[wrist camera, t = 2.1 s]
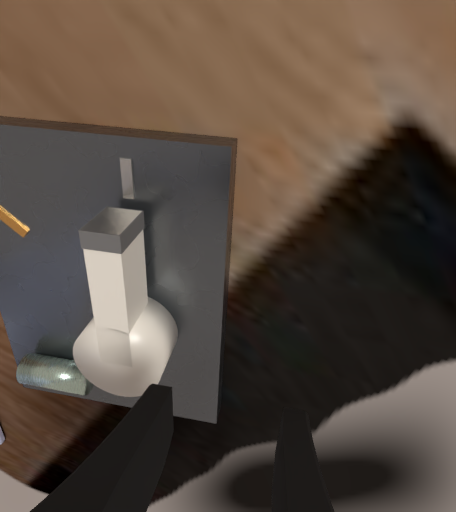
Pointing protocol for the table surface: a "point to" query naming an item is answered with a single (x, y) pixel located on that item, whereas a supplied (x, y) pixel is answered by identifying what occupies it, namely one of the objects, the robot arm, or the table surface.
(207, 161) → the base plate
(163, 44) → the table surface
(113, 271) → the white long bulbous piece
